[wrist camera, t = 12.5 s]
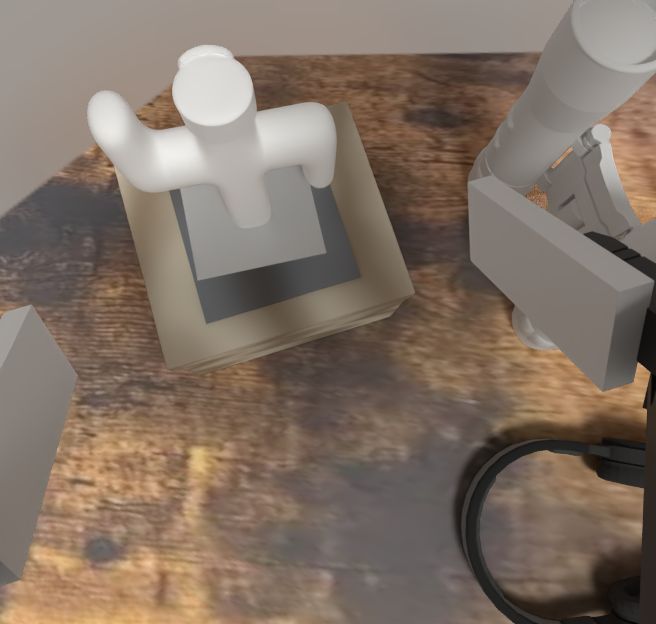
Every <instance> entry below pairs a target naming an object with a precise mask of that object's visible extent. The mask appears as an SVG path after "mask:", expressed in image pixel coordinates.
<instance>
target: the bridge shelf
mask: <svg viewBox="0 0 656 624" xmlns="http://www.w3.org/2000/svg"><path fill="white" fill-rule="evenodd" d="M325 107H326V108H327V109H328V110H329V111H330V113H331V115H332V117H333V120H334V123H335V127H336V136H337V147H336V158H335V169H334V176H333V180H332V181H331V183H330V184H329V185H328V186H326V187H324V188H315V187H313V186H312V185H310V186H311V191H312V195H313V199H314V203H315V207H316V211H317V216H318V220H319V224H320V228H321V232H322V236H323V241H324V245H325V249H326V253H325V254H320V255H315V256H311V257H306V258H301V259H297V260H292V261H287V262H283V263H278V264H273V265H269V266H264V267H259V268H255V269H250V270H245V271H241V272H236V273H231V274H227V275H222V276H217V277H213V278H208V279H203V280H199V281H198V280H197V274H196V269H195V264H194V259H193V253H192V248H191V243H190V238H189V233H188V227H187V222H186V217H185V212H184V206H183V201H182V196H181V191H180V189H175V190H170V191H165V192H159V193H149V192H144V191H141V190H139V189H137V188H136V187H134V186H133V185H132V184H131V183H129V181H128V180H127V179H126V178H125V177H124V176H123V175H122V174H121V172H120V171H119V170H118V169H117V167H116V166H115V165H114V167H115V171H116V175H117V179H118V183H119V187H120V190H121V194H122V198H123V202H124V206H125V209H126V213H127V217H128V221H129V225H130V229H131V232H132V236H133V240H134V244H135V248H136V252H137V255H138V259H139V263H140V267H141V271H142V274H143V278H144V282H145V286H146V290H147V294H148V297H149V301H150V305H151V309H152V313H153V317H154V320H155V324H156V328H157V332H158V336H159V339H160V343H161V347H162V351H163V355H164V359H165V362H166V366H167V370H170V371H177V370H180V369H183V370H186V371H190V372H193V373H196V374H200V375H204V374H207V373H210V372H214V371H217V370H220V369H223V368H227V367H230V366H233V365H236V364H239V363H243V362H246V361H249V360H252V359H255V358H259V357H262V356H265V355H268V354H271V353H275V352H278V351H281V350H284V349H288V348H291V347H294V346H297V345H300V344H304V343H307V342H310V341H313V340H316V339H320V338H323V337H326V336H329V335H332V334H336V333H339V332H342V331H345V330H348V329H352V328H355V327H358V326H361V325H365V324H368V323H371V322H374V321H377V320H381V319H384V318H387V317H390V316H391V315H392V314H393V313H394V311H395V310H396V309H397V308H398V307H399V306H400V304H401V303H402V302H403V301H404V300H406V299H410V298H412V296H413V295H414V294H415V290H414V287H413V285H412V282H411V279H410V276H409V273H408V271H407V268H406V265H405V262H404V259H403V257H402V254H401V251H400V248H399V245H398V243H397V240H396V237H395V234H394V231H393V229H392V226H391V223H390V220H389V217H388V215H387V212H386V209H385V206H384V203H383V201H382V198H381V195H380V192H379V189H378V187H377V184H376V181H375V178H374V175H373V172H372V170H371V167H370V164H369V161H368V158H367V156H366V153H365V150H364V147H363V144H362V142H361V139H360V136H359V133H358V130H357V128H356V125H355V122H354V119H353V116H352V114H351V111H350V108H349V105H348V102H347V101H343V102H340V103H336V104H332V105H329V106H325Z"/></svg>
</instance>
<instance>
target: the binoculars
mask: <svg viewBox="0 0 656 624" xmlns="http://www.w3.org/2000/svg"><path fill="white" fill-rule="evenodd" d="M655 73H656V0H574V1H573V3H572V5H571V6H570V8H569V9H568V11H567V13H566V14H565V16H564V17H563V19H562V20H561V22H560V24H559V25H558V27H557V28H556V30H555V31H554V33H553V34H552V36H551V38H550V39H549V41H548V42H547V44H546V46H545V48H544V50H543V52H542V55H541V57H540V59H539V62H538V64H537V66H536V69H535V71H534V74H533V76H532V78H531V81H530V83H529V85H528V86H527V88H526V89H525V91H524V92H523V94H522V95H521V97H520V98H519V99H518V100H517V101H516V102H515V103H514V105H513V106H512V107H511V109H510V111H509V114H508V116H507V118H506V119H505V120H504V121H503V122H502V123H501V124H500V126H499V127H498V128H497V131H496V133H495V136H494V137H493V138H492V140H491V141H490V142H489V144H488V145H487V147H485V148H483V150H482V151H481V152H480V154H479V155H478V156H477V158H476V160H475V162H474V164H473V168H472V169H471V171H470V173H469V176H468V182H469V181H473V180H476V179H480V178H483V177H487V176H490V175H492V176H493V177H495V178H496V179H498V180H499V181H501V182H502V183H504V184H505V185H507V186H509V187H510V188H512V189H513V190H515V191H516V192H518V193H519V194H521V195H522V196H526V195H527V194H528V193H529V192H530V191H531V190H532V189H533V188H534V186H535V185H536V184H537V186H538V188H539V189H540V190H541V191H542V192H547V198H548V207H547V212H549V213H550V214H552V215H553V216H555V217H557V218H558V219H560V220H561V221H563V222H564V223H566V224H567V225H569V226H570V227H572V228H574V229H575V230H577V231H578V232H580V233H581V234H584V233H588V232H591V231H593V232H596V233H600V234H603V235H607V236H610V237H613V238H615V239H617V240H618V241H620V242H621V243H623V244H625V245H626V246H628V248H629V249H633V250H635V251H636V252H638V253H640V254H641V257H643V256H645V257H646V258H648V259H649V260H651V261H653V262H654V263H656V218H654V219H652V220H650V221H649V222H647V223H645V224H643V225H641V223H640V221H639V219H638V218H637V216H636V214H635V213H634V211H633V209H632V207H631V205H630V203H629V201H628V198H627V196H626V193H625V191H624V189H623V186H622V184H621V181H620V178H619V175H618V172H617V169H616V166H615V163H614V159H613V154H612V148H611V144H610V142H609V139H610V137H611V135H612V134H611V131H610V129H609V127H607V126H606V125H604V124H598V125H594V124H595V123H597V122H598V121H600V120H601V119H603V118H604V117H605V116H607V115H608V114H610V113H611V112H613V111H614V110H615V109H617V108H618V107H620V106H621V105H622V104H624V103H625V102H626V101H627V100H628V99H629V98H630V97H631V96H632V95H633V94H634V93H635V92H636V91H637V90H638V89H639V88H640V87H641V86H642V85H643V84H644V83H645V82H646V81H647V80H649V79H650V78H651V77H652V76H653V75H654V74H655ZM593 125H594V126H593ZM591 126H593V127H592V129H591V128H590V127H591ZM571 146H572V148H573V150H572V151H571V152H570V153H569V154H568V155H567V156H566V157H565V158H564V159H563V160H562V161H561V162H560V163H559V164H558V165H557V166H556V167H555V168H554V169H553V168H551V166H552V165H553V164H554V163H555V162H556V161H557V160H558V159H559V158H560V157H561V156H562V155H563V154H564V153H565V152H566V151H567V150H568V149H569V148H570V147H571ZM619 236H622V237H619ZM512 326H513V329H514V332H515V334H516V335H517V337H518V338H519V339H520V341H521V342H522V343H524V344H525V345H527V346H528V347H530V348H532V349H536V350H551V349H552V350H558V349H559V348H558V347H557V346H556V345H555V344H554V343H553V342H552V341H551V340H550V339H549V338H548V337H547V336H546V335H545V334H544V333H543V332H542V331H541V330H540V329H539V328H538V327H537V326H536V325H535V324H534V323H533V322H532V321H531V320H530V319H529V318H528V317H527V316H526V315H525V314H524V313H523V312H522V311H521V310H520V309H519V308H518V307H517V306H516V305H515V307H514V309H513V312H512Z"/></svg>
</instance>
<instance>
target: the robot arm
mask: <svg viewBox="0 0 656 624" xmlns="http://www.w3.org/2000/svg"><path fill="white" fill-rule="evenodd" d="M468 209H469V236H470V260H471V261H472V262H473V263H474V264H475V265H476V266H477V267H478V268H479V269H480V270H481V271H482V272H483V273H484V274H485V275H486V276H487V277H488V278H489V279H490V280H491V281H492V282H493V283H494V284H495V285H496V286H497V287H498V288H499V289H500V290H501V291H502V292H503V293H504V294H505V295H506V296H507V297H508V298H509V299H510V300H511V301H512V302H513V303H514V304H515V305H516V306H517V307H518V308H519V309H520V310H521V311H522V312H523V313H524V314H525V315H526V316H527V317H528V318H529V319H530V320H531V321H532V322H533V323H534V324H535V325H536V326H537V327H538V328H539V329H540V330H541V331H542V332H543V333H544V334H545V335H546V336H547V337H548V338H549V339H550V340H551V341H552V342H553V343H554V344H555V345H556V346H557V347H558V348H559V349H560V350H561V351H562V352H563V353H564V354H565V355H566V356H567V357H568V358H569V359H570V360H571V361H572V362H573V363H574V364H575V365H576V366H577V367H578V368H579V369H580V370H581V371H582V372H583V373H584V374H585V375H586V376H587V377H588V378H589V379H590V380H591V381H592V382H593V383H594V384H595V385H596V386H597V387H598V388H599V389H600V390H601V391H602V392H604V391H607V390H610V389H613V388H617V387H620V386H623V385H626V384H629V383H632V382H634V377H635V372H636V368H637V363H638V362H639V363H640V364H641V365H643V366H644V367H645V368H646V369H647V370H649V371H650V372H651V374H650V378H649V383H648V387H647V391H646V395H645V400H644V404H643V408H645V409H647V426H646V452H645V478H644V504H643V529H642V555H641V581H640V607H639V624H656V263H654V262H653V261H651V260H649V259H648V258H646V257H645V256H643V257H641V254H640V253H638V252H636V251H635V250H633V249H629V248H628V246H626V245H625V244H623V243H621V242H620V241H618V240H617V239H615V238H613V237H610V236H607V235H603V234H600V233H596V232H593V231H591V232H588V233H584V234H581V233H580V232H578V231H577V230H575V229H574V228H572V227H570V226H569V225H567V224H566V223H564V222H563V221H561V220H560V219H558V218H557V217H555V216H553V215H552V214H550V213H549V212H547V211H546V210H544V209H543V208H541V207H540V206H538V205H536V204H535V203H533V202H532V201H530V200H529V199H527V198H526V197H524V196H522V195H521V194H519V193H518V192H516V191H515V190H513V189H512V188H510V187H509V186H507V185H505V184H504V183H502V182H501V181H499V180H498V179H496V178H495V177H493V176H492V175H490V176H487V177H483V178H480V179H476V180H473V181H469V182H468ZM77 377H78V375H77V374H76V372H75V371H74V369H73V368H72V366H71V365H70V363H69V362H68V360H67V358H66V357H65V355H64V354H63V352H62V351H61V349H60V348H59V346H58V344H57V343H56V341H55V340H54V338H53V337H52V335H51V334H50V332H49V331H48V329H47V327H46V326H45V324H44V323H43V321H42V320H41V318H40V317H39V315H38V314H37V312H36V310H35V309H34V307H33V306H32V305H29V306H25V307H22V308H18V309H14V310H11V311H7V312H4V314H3V316H2V318H1V319H0V586H2V585H5V584H8V583H11V582H14V581H18V580H21V576H22V573H23V569H24V566H25V562H26V559H27V555H28V551H29V548H30V544H31V541H32V537H33V534H34V530H35V526H36V523H37V519H38V516H39V512H40V509H41V505H42V502H43V498H44V494H45V491H46V487H47V484H48V480H49V477H50V473H51V469H52V466H53V462H54V459H55V455H56V452H57V448H58V444H59V441H60V437H61V434H62V430H63V427H64V423H65V420H66V416H67V412H68V409H69V405H70V402H71V398H72V395H73V391H74V387H75V384H76V380H77Z"/></svg>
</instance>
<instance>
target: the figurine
mask: <svg viewBox="0 0 656 624" xmlns="http://www.w3.org/2000/svg"><path fill="white" fill-rule="evenodd" d="M178 69H179V71H178V73H177V75H176V76H175V78H174V82H173V87H172V96H173V100H174V103H175V105H176V107H177V109H178V111H179V113H180V115H181V117H182V119H183V121H184V123H185V125H184V126H180V127H174V128H169V129H164V130H154V129H151V128H149V127H147V126H145V125H144V124H142V123H141V122H140V121H139V120H138V118H137V117H136V115H135V114H134V112H133V110H132V109H131V107H130V106H129V104H128V103H127V101H126V100H125V99H124V98H123V97H122V96H120V95H119V94H118V93H116V92H113V91H109V90H103V91H100V92H98V93H96V94H95V95H94V96H93V97H92V98H91V100H90V102H89V104H88V109H87V117H88V124H89V128H90V131H91V133H92V135H93V137H94V139H95V141H96V142H97V144H98V145H99V146H100V148H101V149H102V150H103V151H104V153H105V154H106V155H107V156H108V158H109V159H110V160H111V161H112V163H113V164H114V165H115V166H116V167H117V169H118V170H119V171H120V172H121V174H122V175H123V176H124V177H125V178H126V179H127V180H128V181H129V183H131V184H132V185H133V186H134V187H136V188H137V189H139V190H141V191H144V192H149V193H159V192H165V191H170V190H175V189H180V191H181V196H182V201H183V206H184V212H185V217H186V222H187V227H188V233H189V238H190V243H191V248H192V253H193V259H194V264H195V269H196V274H197V280H198V281H199V280H203V279H208V278H213V277H217V276H222V275H227V274H231V273H236V272H241V271H245V270H250V269H255V268H259V267H264V266H269V265H273V264H278V263H283V262H287V261H292V260H297V259H301V258H306V257H311V256H315V255H320V254H325V253H326V249H325V245H324V241H323V236H322V232H321V228H320V224H319V220H318V216H317V211H316V207H315V203H314V199H313V195H312V191H311V186H310V185H312V186H313V187H315V188H324V187H326V186H328V185H329V184H330V183H331V181H332V180H333V176H334V169H335V158H336V147H337V136H336V127H335V123H334V120H333V117H332V115H331V113H330V111H329V110H328V109H327V108H326V107H325V106H324V105H322V104H320V103H316V102H305V103H299V104H294V105H289V106H284V107H279V108H273V109H268V110H263V111H258V112H257V105H256V99H255V94H254V88H253V83H252V80H251V77H250V75H249V73H248V71H247V70H246V69H245V67H244V66H243V65H242V64H240V63H239V62H238V61H236V60H235V59H234V57H233V54H232V53H231V52H230V51H229V50H227V49H225V48H223V47H221V46H217V45H201V46H196V47H194V48H192V49H190V50H188V51H186V52H184V53H183V54H182V55H181V56H180V58H179V60H178Z"/></svg>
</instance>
